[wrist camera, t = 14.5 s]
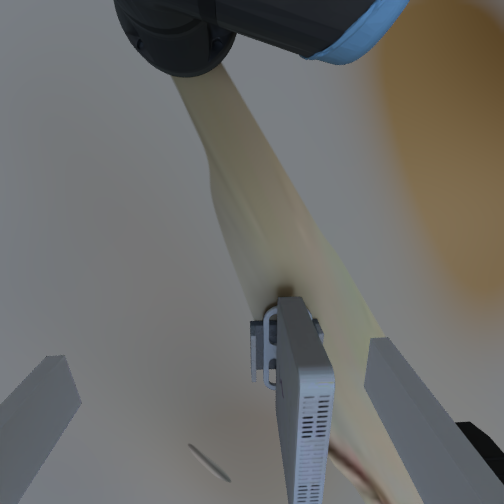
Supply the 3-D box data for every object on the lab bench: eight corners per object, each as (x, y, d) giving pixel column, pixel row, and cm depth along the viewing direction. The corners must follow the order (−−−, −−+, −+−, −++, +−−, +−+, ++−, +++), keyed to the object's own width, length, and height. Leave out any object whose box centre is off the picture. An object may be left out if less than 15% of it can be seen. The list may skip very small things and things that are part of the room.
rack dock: (250, 321, 50) (251, 336, 46) (316, 318, 51) (323, 333, 46) (250, 364, 53) (251, 381, 49) (313, 361, 54) (319, 379, 50)
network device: (263, 289, 46) (278, 378, 28) (313, 287, 47) (362, 374, 28) (263, 401, 55) (275, 528, 36) (305, 399, 55) (339, 524, 36)
